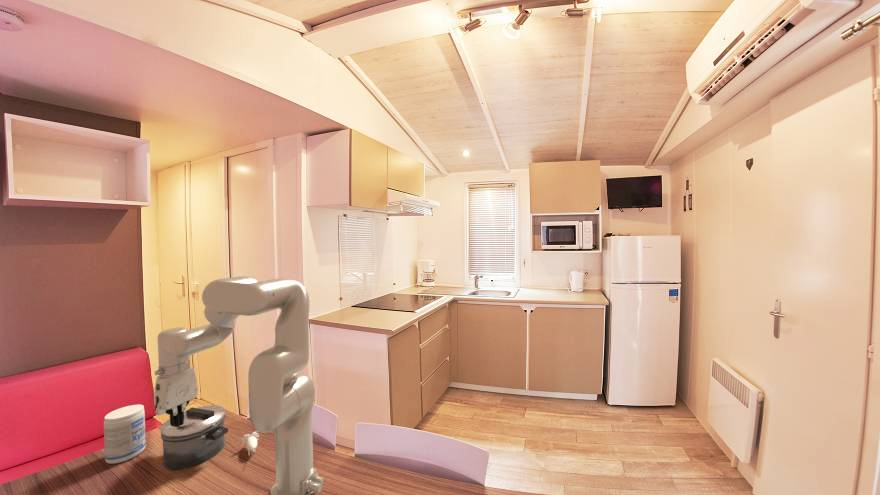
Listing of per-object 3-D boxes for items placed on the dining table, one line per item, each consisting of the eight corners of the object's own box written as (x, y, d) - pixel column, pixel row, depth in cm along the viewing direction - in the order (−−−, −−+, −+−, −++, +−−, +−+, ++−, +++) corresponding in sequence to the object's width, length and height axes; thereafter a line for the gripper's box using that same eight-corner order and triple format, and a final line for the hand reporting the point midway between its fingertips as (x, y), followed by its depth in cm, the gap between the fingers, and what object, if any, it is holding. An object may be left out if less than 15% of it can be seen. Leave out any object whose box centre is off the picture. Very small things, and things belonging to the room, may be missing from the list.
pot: (248, 439, 108) (247, 412, 108) (195, 477, 91) (194, 444, 91) (199, 430, 114) (198, 404, 114) (141, 464, 97) (140, 433, 97)
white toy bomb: (241, 446, 104) (240, 433, 104) (259, 440, 108) (258, 427, 108) (244, 466, 95) (244, 451, 95) (264, 459, 98) (263, 444, 98)
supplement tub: (141, 457, 100) (140, 413, 100) (99, 469, 95) (98, 423, 95) (149, 441, 108) (147, 400, 108) (110, 452, 103) (109, 409, 103)
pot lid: (236, 412, 108) (236, 404, 108) (186, 441, 92) (186, 431, 92) (201, 406, 112) (201, 398, 112) (147, 433, 96) (147, 424, 96)
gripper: (156, 379, 88) (158, 441, 88) (207, 359, 102) (209, 413, 103) (137, 377, 90) (140, 438, 90) (191, 358, 104) (193, 411, 105)
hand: (177, 425), depth 96 cm, fingers closed
